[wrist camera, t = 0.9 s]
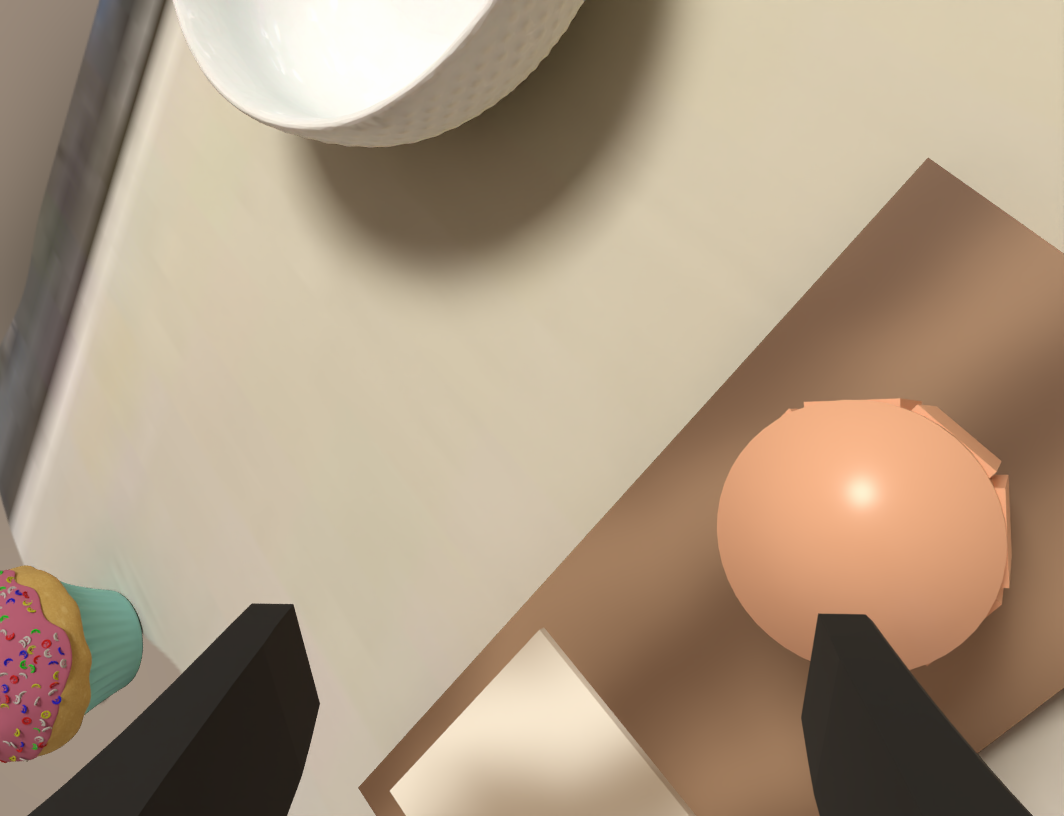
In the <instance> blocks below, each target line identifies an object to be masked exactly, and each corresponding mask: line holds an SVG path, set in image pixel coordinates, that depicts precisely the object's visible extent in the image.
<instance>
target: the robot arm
mask: <svg viewBox="0 0 1064 816" xmlns="http://www.w3.org/2000/svg"><path fill="white" fill-rule="evenodd" d="M319 705H320V702H319V699H318V695H317V691H316V687H315V684H314V680H313V676H312V672H311V669H310V665H309V661H308V657H307V654H306V650H305V646H304V642H303V639H302V635H301V631H300V627H299V624H298V620H297V616H296V612H295V609H294V605H293V604H251V605H250V606H249V607H248V608H247V609H246V610H245V611H244V612H243V613H242V614H241V615H240V616H239V617H238V618H237V619H236V620H235V621H234V622H233V623H232V624H231V625H230V626H229V627H228V628H227V629H226V630H225V631H224V632H223V633H222V634H221V635H220V636H219V637H218V638H217V639H216V640H215V641H214V642H213V643H212V644H211V645H210V646H209V647H208V648H207V649H206V650H205V651H204V652H203V653H202V654H201V655H200V656H199V657H198V658H197V659H196V660H195V661H194V662H193V663H192V664H191V665H190V666H189V667H188V668H187V669H186V670H185V671H184V672H183V673H182V674H181V675H180V676H179V677H178V678H177V679H176V681H174V682H173V683H172V684H171V685H170V686H169V687H168V688H167V689H166V690H165V691H164V692H163V693H162V694H161V695H160V696H159V697H158V698H157V699H156V700H155V701H154V702H153V703H152V704H151V705H150V706H149V707H148V708H147V709H146V710H145V711H144V712H143V713H142V714H141V715H140V716H139V717H138V718H137V719H136V720H134V722H132V723H131V724H130V725H129V726H128V727H127V728H126V729H125V730H124V731H123V732H122V733H121V734H120V735H119V736H118V737H117V738H116V739H114V740H113V741H112V742H111V743H110V744H109V745H108V746H107V747H106V748H105V749H103V750H102V751H101V752H100V753H99V754H98V755H97V756H96V757H95V758H93V759H92V760H91V761H90V762H89V763H88V764H87V765H86V766H85V767H83V768H82V769H81V770H80V771H79V772H78V773H77V774H76V775H75V776H74V777H73V778H72V779H70V780H69V781H68V782H67V783H66V784H65V785H63V786H62V787H61V788H60V789H59V790H58V791H56V792H55V793H54V794H53V795H52V796H51V797H49V798H48V799H47V800H46V801H45V802H43V803H42V804H41V805H40V806H38V807H37V808H36V809H35V810H34V811H32V812H31V813H30V814H29V815H28V816H287V814H288V812H289V809H290V806H291V804H292V801H293V798H294V796H295V793H296V790H297V787H298V785H299V782H300V779H301V776H302V773H303V770H304V766H305V762H306V758H307V754H308V751H309V747H310V743H311V739H312V735H313V731H314V726H315V722H316V718H317V714H318V709H319ZM801 721H802V727H803V733H804V740H805V746H806V752H807V758H808V764H809V770H810V776H811V781H812V787H813V793H814V797H815V800H816V804H817V808H818V811H819V815H820V816H1033V815H1032V814H1031V813H1030V812H1029V811H1028V810H1027V809H1026V808H1025V807H1024V806H1023V805H1022V804H1021V803H1020V801H1019V800H1018V799H1017V798H1016V797H1015V796H1014V795H1013V794H1012V793H1011V792H1010V791H1009V789H1008V788H1007V787H1006V786H1005V785H1004V784H1003V783H1002V782H1001V780H1000V779H999V778H998V777H997V776H996V775H995V774H994V773H993V771H992V770H991V769H990V768H989V767H988V766H987V765H986V763H985V762H984V761H983V760H982V759H981V758H980V756H979V755H978V754H977V753H976V752H975V750H974V749H973V748H972V747H971V746H970V745H969V743H968V742H967V741H966V740H965V739H964V737H963V736H962V735H961V734H960V733H959V731H958V730H957V729H956V728H955V727H954V726H953V724H952V723H951V722H950V721H949V720H948V718H947V717H946V716H945V715H944V713H943V712H942V711H941V710H940V708H939V707H938V706H937V705H936V704H935V702H934V701H933V700H932V699H931V697H930V696H929V695H928V693H927V692H926V691H925V690H924V688H923V687H922V686H921V685H920V683H919V682H918V681H917V679H916V678H915V677H914V676H913V674H912V673H911V672H910V670H909V669H908V668H907V666H906V665H905V664H904V663H903V661H902V660H901V659H900V657H899V656H898V655H897V653H896V652H895V651H894V649H893V648H892V647H891V645H890V644H889V643H888V641H887V640H886V639H885V637H884V636H883V634H882V633H881V632H880V630H879V629H878V628H877V626H876V625H875V624H874V622H873V621H872V620H871V619H870V618H869V617H868V616H867V615H866V614H819V613H818V617H817V623H816V629H815V636H814V642H813V648H812V654H811V660H810V666H809V672H808V678H807V684H806V690H805V697H804V703H803V709H802V715H801Z"/></svg>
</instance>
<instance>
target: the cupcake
mask: <svg viewBox="0 0 1064 816" xmlns="http://www.w3.org/2000/svg"><path fill="white" fill-rule="evenodd" d="M142 652H143V638H142V631H141V626H140V622H139V619H138V617H137V614H136V612H135V610H134V608H133V607H132V605H131V604H130V602H129V601H128V600H127V599H126V598H125V597H124V596H123V595H121V594H120V593H118V592H115V591H112V590H101V589H92V588H85V587H79V586H74V585H70V584H66V583H63V582H61V581H59V580H58V579H57V578H56V577H54V576H53V575H51V574H49V573H47V572H45V571H42V570H38V569H35V568H34V567H32V566H20V567H16V568H13V569H9V570H4V571H0V761H1V762H4V763H7V762H11V761H28V760H31V759H34V758H36V757H37V756H41V755H45V754H48V753H50V752H53V751H55V750H57V749H58V748H60V747H61V746H63V745H64V744H66V743H67V742H68V741H69V740H70V739H72V738H73V737H74V735H75V734H76V733H77V732H78V730H79V728H80V726H81V723H82V720H83V716H84V715H85V714H86V713H88V712H89V711H90V710H91V709H93V708H94V707H95V706H97V705H98V704H99V703H101V702H102V701H104V700H105V699H106V698H108V697H109V696H111V695H112V694H113V693H115V692H117V691H118V690H120V689H122V688H123V687H125V686H126V685H128V684H129V683H130V682H131V681H132V680H133V678H134V677H135V675H136V673H137V671H138V669H139V666H140V663H141V659H142Z"/></svg>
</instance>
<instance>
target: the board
mask: <svg viewBox="0 0 1064 816" xmlns="http://www.w3.org/2000/svg"><path fill="white" fill-rule="evenodd" d="M897 398H901V399H909V400H916V401H922V405H929V406H937V407H938V408H939V409H940V410H941V411H943V412H944V413H945V414H946V415H947V416H949V417H950V418H951V419H952V420H953V421H955V422H956V423H957V424H958V425H959V426H960V427H962V428H963V429H964V430H965V431H966V432H968V433H969V434H970V435H971V436H972V437H974V438H975V439H976V440H977V441H978V442H979V443H981V444H982V445H983V446H984V447H985V448H987V449H988V450H989V451H990V452H991V453H993V454H994V455H995V456H996V457H997V458H998V459H1000V460H1001V464H1000V466H999V468H998V470H997V472H996V473H995V474H994V475H1009V498H1010V524H1011V550H1012V559H1011V572H1010V584H1009V588H1004V590H1003V599H1002V605H1001V606H999V607H998V608H997V609H996V610H995V611H993V612H992V613H991V614H990V615H989V616H987V617H986V618H985V619H984V620H983V621H982V623H981V624H980V625H979V626H978V628H977V629H976V630H975V631H974V632H973V633H972V634H971V635H970V636H969V637H968V638H967V639H966V640H965V641H964V642H963V643H962V644H961V645H959V646H958V647H956V648H955V649H954V650H952V651H951V652H949V653H948V654H946V655H945V656H943V657H941V658H939V659H937V660H935V661H933V662H932V663H931V664H929V665H928V666H926V665H923V666H920V667H917V668H914V669H911V670H910V672H911V673H912V674H913V676H914V677H915V678H916V679H917V681H918V682H919V683H920V685H921V686H922V687H923V688H924V690H925V691H926V692H927V693H928V695H929V696H930V697H931V699H932V700H933V701H934V702H935V704H936V705H937V706H938V707H939V708H940V710H941V711H942V712H943V713H944V715H945V716H946V717H947V718H948V720H949V721H950V722H951V723H952V724H953V726H954V727H955V728H956V729H957V730H958V731H959V733H960V734H961V735H962V736H963V737H964V739H965V740H966V741H967V742H968V743H969V745H970V746H971V747H972V748H973V749H974V750H975V752H976V753H979V752H980V751H981V750H983V749H984V748H985V747H987V746H988V745H989V744H991V743H992V742H993V741H994V740H996V739H997V738H998V737H1000V736H1001V735H1002V734H1004V733H1005V732H1006V731H1008V730H1009V729H1010V728H1012V727H1013V726H1014V725H1016V724H1017V723H1018V722H1019V721H1021V720H1022V719H1023V718H1025V717H1026V716H1027V715H1029V714H1030V713H1031V712H1033V711H1034V710H1035V709H1037V708H1038V707H1039V706H1041V705H1042V704H1043V703H1045V702H1046V701H1047V700H1048V699H1050V698H1051V697H1052V696H1054V695H1055V694H1056V693H1058V692H1059V691H1060V690H1062V689H1063V688H1064V253H1062V252H1061V251H1059V250H1058V249H1057V248H1055V247H1054V246H1052V245H1051V244H1050V243H1048V242H1047V241H1045V240H1044V239H1042V238H1041V237H1040V236H1038V235H1037V234H1035V233H1034V232H1033V231H1031V230H1030V229H1028V228H1027V227H1026V226H1024V225H1023V224H1021V223H1020V222H1018V221H1017V220H1016V219H1014V218H1013V217H1011V216H1010V215H1009V214H1007V213H1006V212H1004V211H1003V210H1001V209H1000V208H999V207H997V206H996V205H994V204H993V203H992V202H990V201H989V200H987V199H986V198H985V197H983V196H982V195H980V194H979V193H977V192H976V191H975V190H973V189H972V188H970V187H969V186H968V185H966V184H965V183H963V182H962V181H960V180H959V179H958V178H956V177H955V176H953V175H952V174H951V173H949V172H948V171H946V170H945V169H943V168H942V167H941V166H939V165H938V164H936V163H935V162H934V161H932V160H931V159H929V158H927V159H926V161H925V162H924V163H923V164H922V165H921V166H920V167H919V168H918V169H917V170H916V172H915V173H914V174H913V175H912V176H911V177H910V178H909V179H908V180H907V182H906V183H905V184H904V185H903V186H902V187H901V188H900V189H899V190H898V191H897V193H896V194H895V195H894V196H893V197H892V198H891V199H890V200H889V201H888V203H887V204H886V205H885V206H884V207H883V208H882V209H881V210H880V211H879V212H878V214H877V215H876V216H875V217H874V218H873V219H872V220H871V221H870V222H869V224H868V225H867V226H866V227H865V228H864V229H863V230H862V231H861V232H860V234H859V235H858V236H857V237H856V238H855V239H854V240H853V241H852V242H851V243H850V245H849V246H848V247H847V248H846V249H845V250H844V251H843V252H842V253H841V255H840V256H839V257H838V258H837V259H836V260H835V261H834V262H833V263H832V264H831V266H830V267H829V268H828V269H827V270H826V271H825V272H824V273H823V274H822V276H821V277H820V278H819V279H818V280H817V281H816V282H815V283H814V284H813V285H812V287H811V288H810V289H809V290H808V291H807V292H806V293H805V294H804V295H803V297H802V298H801V299H800V300H799V301H798V302H797V303H796V304H795V305H794V306H793V308H792V309H791V310H790V311H789V312H788V313H787V314H786V315H785V316H784V318H783V319H782V320H781V321H780V322H779V323H778V324H777V325H776V326H775V328H774V329H773V330H772V331H771V332H770V333H769V334H768V335H767V336H766V337H765V339H764V340H763V341H762V342H761V343H760V344H759V345H758V346H757V347H756V349H755V350H754V351H753V352H752V353H751V354H750V355H749V356H748V357H747V358H746V360H745V361H744V362H743V363H742V364H741V365H740V366H739V367H738V368H737V370H736V371H735V372H734V373H733V374H732V375H731V376H730V377H729V378H728V379H727V381H726V382H725V383H724V384H723V385H722V386H721V387H720V388H719V389H718V391H717V392H716V393H715V394H714V395H713V396H712V397H711V398H710V399H709V400H708V402H707V403H706V404H705V405H704V406H703V407H702V408H701V409H700V410H699V412H698V413H697V414H696V415H695V416H694V417H693V418H692V419H691V420H690V421H689V423H688V424H687V425H686V426H685V427H684V428H683V429H682V430H681V431H680V433H679V434H678V435H677V436H676V437H675V438H674V439H673V440H672V441H671V443H670V444H669V445H668V446H667V447H666V448H665V449H664V450H663V451H662V452H661V454H660V455H659V456H658V457H657V458H656V459H655V460H654V461H653V462H652V464H651V465H650V466H649V467H648V468H647V469H646V470H645V471H644V472H643V473H642V475H641V476H640V477H639V478H638V479H637V480H636V481H635V482H634V483H633V485H632V486H631V487H630V488H629V489H628V490H627V491H626V492H625V493H624V494H623V496H622V497H621V498H620V499H619V500H618V501H617V502H616V503H615V504H614V506H613V507H612V508H611V509H610V510H609V511H608V512H607V513H606V514H605V515H604V517H603V518H602V519H601V520H600V521H599V522H598V523H597V524H596V525H595V527H594V528H593V529H592V530H591V531H590V532H589V533H588V534H587V535H586V536H585V538H584V539H583V540H582V541H581V542H580V543H579V544H578V545H577V546H576V548H575V549H574V550H573V551H572V552H571V553H570V554H569V555H568V556H567V558H566V559H565V560H564V561H563V562H562V563H561V564H560V565H559V566H558V567H557V569H556V570H555V571H554V572H553V573H552V574H551V575H550V576H549V577H548V579H547V580H546V581H545V582H544V583H543V584H542V585H541V586H540V587H539V588H538V590H537V591H536V592H535V593H534V594H533V595H532V596H531V597H530V598H529V600H528V601H527V602H526V603H525V604H524V605H523V606H522V607H521V608H520V609H519V611H518V612H517V613H516V614H515V615H514V616H513V617H512V618H511V619H510V621H509V622H508V623H507V624H506V625H505V626H504V627H503V628H502V629H501V630H500V632H499V633H498V634H497V635H496V636H495V637H494V638H493V639H492V640H491V642H490V643H489V644H488V645H487V646H486V647H485V648H484V649H483V650H482V652H481V653H480V654H479V655H478V656H477V657H476V658H475V659H474V660H473V661H472V663H471V664H470V665H469V666H468V667H467V668H466V669H465V670H464V671H463V673H462V674H461V675H460V676H459V677H458V678H457V679H456V680H455V681H454V682H453V684H452V685H451V686H450V687H449V688H448V689H447V690H446V691H445V692H444V694H443V695H442V696H441V697H440V698H439V699H438V700H437V701H436V702H435V703H434V705H433V706H432V707H431V708H430V709H429V710H428V711H427V712H426V713H425V715H424V716H423V717H422V718H421V719H420V720H419V721H418V722H417V723H416V724H415V726H414V727H413V728H412V729H411V730H410V731H409V732H408V733H407V734H406V736H405V737H404V738H403V739H402V740H401V741H400V742H399V743H398V744H397V745H396V747H395V748H394V749H393V750H392V751H391V752H390V753H389V754H388V755H387V757H386V758H385V759H384V760H383V761H382V762H381V763H380V764H379V765H378V767H377V768H376V769H375V770H374V771H373V772H372V773H371V774H370V775H369V776H368V778H367V779H366V780H365V781H364V782H363V783H362V784H361V785H360V786H359V790H360V791H361V793H362V794H363V796H364V798H365V799H366V801H367V802H368V804H369V805H370V807H371V808H372V810H373V812H374V813H375V815H376V816H820V815H819V811H818V808H817V804H816V800H815V797H814V793H813V787H812V781H811V776H810V770H809V764H808V758H807V752H806V746H805V740H804V733H803V727H802V721H801V715H802V709H803V703H804V697H805V690H806V684H807V678H808V672H809V666H810V661H809V660H807V659H804V658H802V657H800V656H798V655H797V654H795V653H793V652H792V651H790V650H788V649H786V648H785V647H783V646H782V645H781V644H779V643H778V642H777V641H775V640H774V639H773V638H771V637H770V636H769V635H768V634H767V633H766V632H765V631H764V630H763V629H762V628H761V627H760V626H758V625H757V624H756V622H755V621H754V620H753V619H752V618H751V616H750V615H749V614H748V613H747V612H746V610H745V609H744V607H743V606H742V604H741V603H740V601H739V600H738V598H737V597H736V595H735V593H734V591H733V589H732V587H731V585H730V583H729V581H728V579H727V576H726V573H725V570H724V568H723V565H722V561H721V556H720V552H719V547H718V537H717V513H718V507H719V501H720V496H721V493H722V490H723V486H724V483H725V481H726V478H727V476H728V474H729V472H730V470H731V467H732V466H733V464H734V463H735V461H736V459H737V458H738V456H739V455H740V453H741V452H742V451H743V450H744V448H745V447H746V446H747V445H748V444H749V442H750V441H751V440H752V439H753V438H754V437H755V436H757V435H758V434H759V433H760V432H761V431H762V430H763V429H764V428H766V427H767V426H769V425H770V424H772V423H773V422H774V421H776V420H777V419H779V418H780V417H781V416H782V415H783V414H784V413H785V412H786V411H787V410H788V409H801V408H804V402H814V401H837V400H869V399H897Z"/></svg>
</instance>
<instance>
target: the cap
mask: <svg viewBox="0 0 1064 816" xmlns="http://www.w3.org/2000/svg"><path fill="white" fill-rule="evenodd" d="M1000 464H1001V460H1000V459H998V458H997V457H996V456H995V455H994V454H993V453H991V452H990V451H989V450H988V449H987V448H985V447H984V446H983V445H982V444H981V443H979V442H978V441H977V440H976V439H975V438H974V437H972V436H971V435H970V434H969V433H968V432H966V431H965V430H964V429H963V428H962V427H960V426H959V425H958V424H957V423H956V422H955V421H953V420H952V419H951V418H950V417H949V416H947V415H946V414H945V413H944V412H943V411H941V410H940V409H939V408H938V407H937V406H929V405H922V401H916V400H909V399H901V398H897V399H869V400H837V401H814V402H804V408H801V409H788V410H787V411H786V412H785V413H784V414H783V415H782V416H781V417H780V418H779V419H777V420H776V421H774V422H773V423H772V424H770V425H769V426H767V427H766V428H764V429H763V430H762V431H761V432H760V433H759V434H758V435H757V436H755V437H754V438H753V439H752V440H751V441H750V442H749V444H748V445H747V446H746V447H745V448H744V450H743V451H742V452H741V453H740V455H739V456H738V458H737V459H736V461H735V463H734V464H733V466H732V467H731V470H730V472H729V474H728V476H727V478H726V481H725V483H724V486H723V490H722V493H721V496H720V501H719V507H718V513H717V537H718V547H719V552H720V556H721V561H722V565H723V568H724V570H725V573H726V576H727V579H728V581H729V583H730V585H731V587H732V589H733V591H734V593H735V595H736V597H737V598H738V600H739V601H740V603H741V604H742V606H743V607H744V609H745V610H746V612H747V613H748V614H749V615H750V616H751V618H752V619H753V620H754V621H755V622H756V624H757V625H758V626H760V627H761V628H762V629H763V630H764V631H765V632H766V633H767V634H768V635H769V636H770V637H771V638H773V639H774V640H775V641H777V642H778V643H779V644H781V645H782V646H783V647H785V648H786V649H788V650H790V651H792V652H793V653H795V654H797V655H798V656H800V657H802V658H804V659H807V660H809V661H810V660H811V654H812V648H813V642H814V636H815V629H816V623H817V617H818V613H819V614H866V615H867V616H868V617H869V618H870V619H871V620H872V621H873V622H874V624H875V625H876V626H877V628H878V629H879V630H880V632H881V633H882V634H883V636H884V637H885V639H886V640H887V641H888V643H889V644H890V645H891V647H892V648H893V649H894V651H895V652H896V653H897V655H898V656H899V657H900V659H901V660H902V661H903V663H904V664H905V665H906V666H907V668H908V669H909V670H911V669H914V668H917V667H920V666H923V665H926V666H928V665H929V664H931V663H932V662H933V661H935V660H937V659H939V658H941V657H943V656H945V655H946V654H948V653H949V652H951V651H952V650H954V649H955V648H956V647H958V646H959V645H961V644H962V643H963V642H964V641H965V640H966V639H967V638H968V637H969V636H970V635H971V634H972V633H973V632H974V631H975V630H976V629H977V628H978V626H979V625H980V624H981V623H982V621H983V620H984V619H985V618H986V617H987V616H989V615H990V614H991V613H992V612H993V611H995V610H996V609H997V608H998V607H999V606H1001V605H1002V599H1003V590H1004V588H1009V584H1010V572H1011V559H1012V550H1011V524H1010V498H1009V475H994V474H995V473H996V472H997V470H998V468H999V466H1000Z"/></svg>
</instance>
